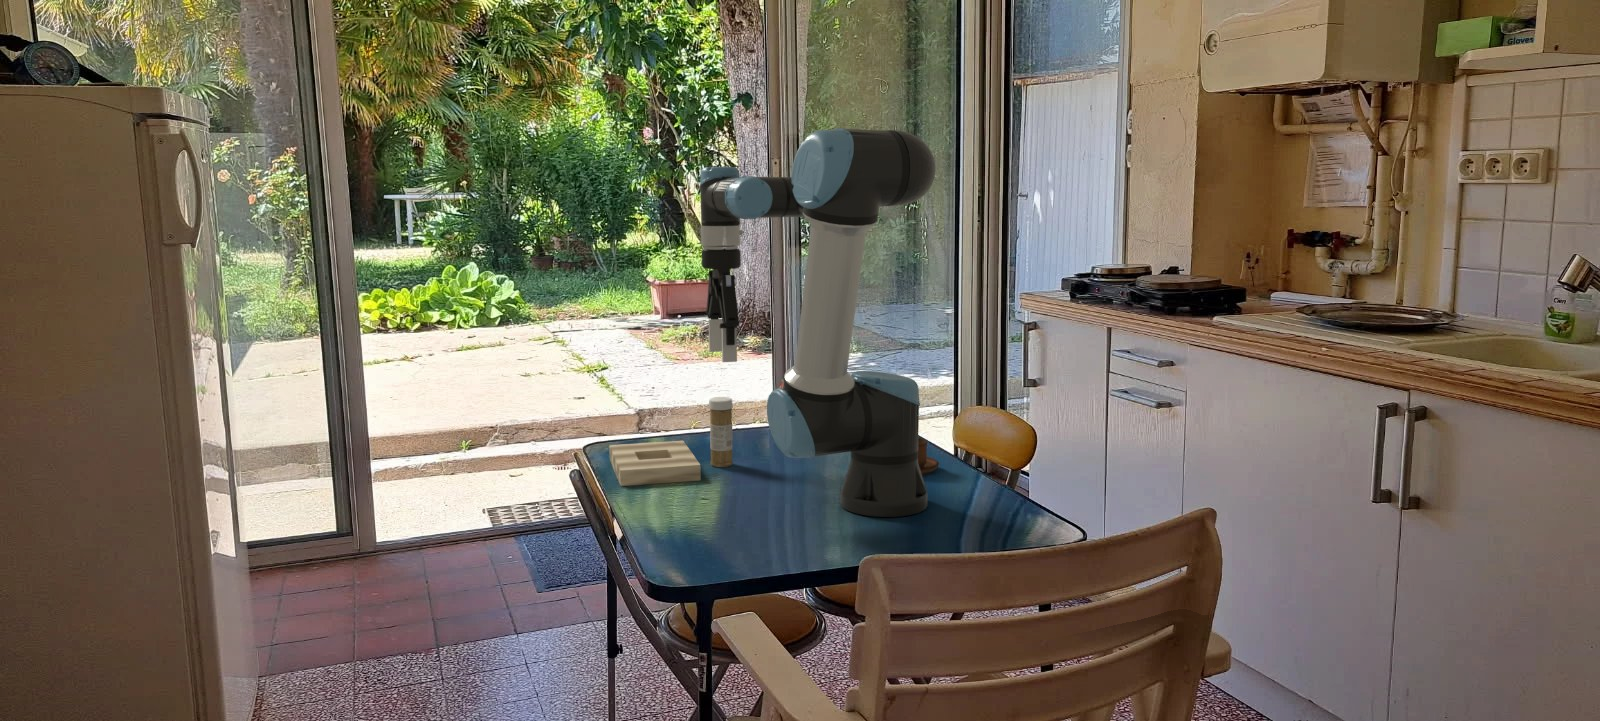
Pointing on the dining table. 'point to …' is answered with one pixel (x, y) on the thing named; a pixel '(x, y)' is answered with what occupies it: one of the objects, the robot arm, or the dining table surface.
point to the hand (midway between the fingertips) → (722, 356)
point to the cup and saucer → (925, 458)
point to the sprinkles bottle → (721, 431)
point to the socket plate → (654, 463)
